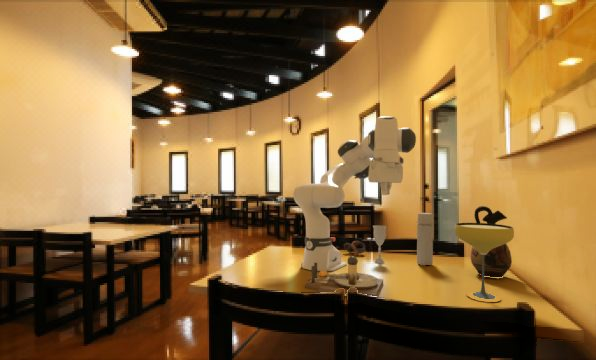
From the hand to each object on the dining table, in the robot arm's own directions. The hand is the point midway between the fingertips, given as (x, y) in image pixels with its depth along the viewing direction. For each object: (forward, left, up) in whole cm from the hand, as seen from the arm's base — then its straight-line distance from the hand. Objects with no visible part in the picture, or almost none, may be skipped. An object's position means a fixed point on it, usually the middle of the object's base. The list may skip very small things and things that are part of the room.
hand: (385, 194), depth 131 cm
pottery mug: (-44, -44, -35) cm, 71 cm away
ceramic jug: (-47, +23, -35) cm, 63 cm away
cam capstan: (+11, -9, -33) cm, 36 cm away
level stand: (+11, -11, -35) cm, 38 cm away
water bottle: (-48, -5, -35) cm, 60 cm away
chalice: (-35, -23, -35) cm, 55 cm away
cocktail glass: (-14, +30, -35) cm, 48 cm away
